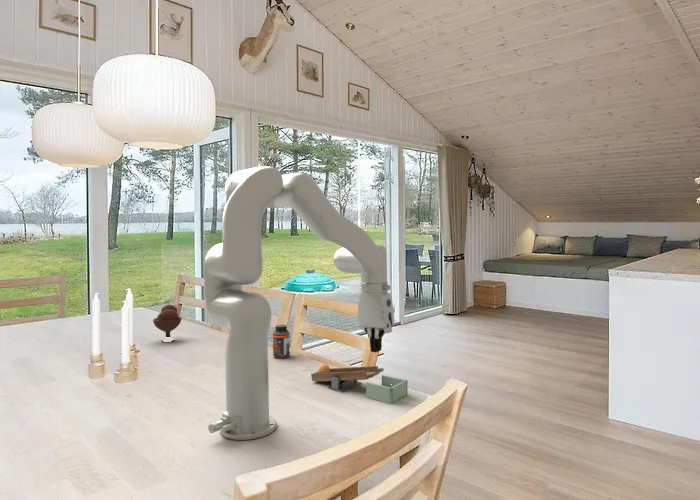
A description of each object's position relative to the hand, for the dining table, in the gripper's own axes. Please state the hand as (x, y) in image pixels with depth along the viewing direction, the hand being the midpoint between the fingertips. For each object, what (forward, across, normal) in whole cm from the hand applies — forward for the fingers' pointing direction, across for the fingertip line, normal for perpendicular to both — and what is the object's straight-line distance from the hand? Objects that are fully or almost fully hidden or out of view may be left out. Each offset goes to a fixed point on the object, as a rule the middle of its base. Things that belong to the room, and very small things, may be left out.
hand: (375, 350), depth 136 cm
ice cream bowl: (+10, +101, +4) cm, 102 cm away
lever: (+8, +7, +4) cm, 11 cm away
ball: (+6, +15, +6) cm, 17 cm away
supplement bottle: (+10, +45, -6) cm, 47 cm away
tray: (+10, -7, +6) cm, 14 cm away
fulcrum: (+10, +7, +6) cm, 14 cm away
